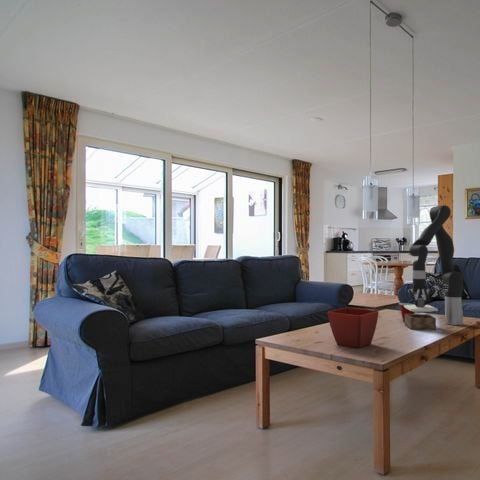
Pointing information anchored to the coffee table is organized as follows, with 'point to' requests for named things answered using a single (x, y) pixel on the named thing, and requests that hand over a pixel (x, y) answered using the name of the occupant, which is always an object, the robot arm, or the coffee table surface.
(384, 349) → the coffee table surface
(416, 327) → the walnut box
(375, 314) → the plant pot
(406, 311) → the plastic cup
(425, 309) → the cream lid
